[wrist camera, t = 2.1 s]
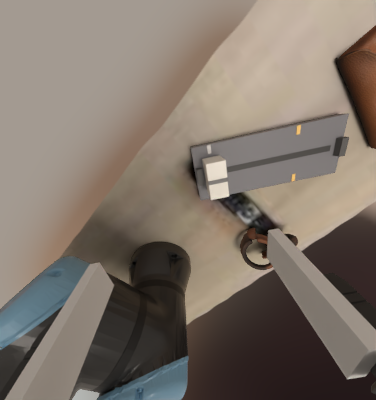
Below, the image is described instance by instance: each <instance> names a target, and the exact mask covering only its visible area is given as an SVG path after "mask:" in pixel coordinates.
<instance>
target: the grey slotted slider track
mask: <svg viewBox="0 0 376 400" xmlns="http://www.w3.org/2000/svg"><path fill="white" fill-rule="evenodd" d="M348 115H349V114H336V115H332V116H327V117H323V118H318V119H314V120H309V121H304V122H300V123H295V124H291V125H286V126H282V127H277V128H273V129H268V130H264V131H259V132H255V133H250V134H246V135H241V136H237V137H232V138H228V139H223V140H219V141H214V142H210V143H205V144H201V145H196V146H192V147H190V149H191V154H192V159H193V165H194V170H195V175H196V181H197V186H198V191H199V196H200V200H205V199H210V196H209V194H208V192H207V187H206V181H205V174H204V168H203V162H202V159H204V158H209V157H213V156H218V155H220V156H221V157H222V158H224V159H225V160H226V168H227V177H228V189H229V194H234V193H239V192H244V191H249V190H253V189H258V188H263V187H268V186H273V185H278V184H282V183H287V182H292V181H297V180H302V179H307V178H311V177H316V176H321V175H326V174H331V173H335V171H336V167H337V162H338V158H339V157H340V156H345V152H346V148H347V144H348V140H349V137H343V136H344V132H345V128H346V124H347V119H348Z"/></svg>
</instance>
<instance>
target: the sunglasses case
mask: <svg viewBox="0 0 376 400" xmlns="http://www.w3.org/2000/svg"><path fill="white" fill-rule="evenodd" d="M336 60H337V65H338V68H339V70H340V72H341V75H342V77H343V79H344V81H345V83H346V85H347V87H348V90H349V92H350V94H351V96H352V98H353V101H354V104H355V107H356V110H357V112H358V114H359V117H360V119H361V123H362V125H363V128H364V131H365V133H366V136H367V140H368V142H369V145H370V147H371V148H375V149H376V26H374V27H373V28H372V29H371V30H370V31H369V32H367V33H366V34H365V35H364V36H363V37H362V38H360V39H359V40H358V41H357V42H356V43H355V44H354V45H352V46H351V47H350V48H349V49H348V50H347V51H345V52H344V53H343V54H342V55H341V56H340V57H339V58H336Z"/></svg>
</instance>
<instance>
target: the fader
mask: <svg viewBox="0 0 376 400" xmlns="http://www.w3.org/2000/svg"><path fill="white" fill-rule="evenodd" d="M202 162H203V168H204V174H205V181H206V187H207V192H208V194H209V196H210V199H211V200H214V199H219V198H224V197H229V189H228V177H227V168H226V160H225V159H224V158H222V157H221V156H220V155H218V156H213V157H209V158H204V159H202Z"/></svg>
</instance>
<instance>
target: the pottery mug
mask: <svg viewBox="0 0 376 400" xmlns="http://www.w3.org/2000/svg"><path fill="white" fill-rule="evenodd" d="M255 230H256V229H255V228H251V229H248V231H247V233H246V234H245V235H244V237H243V239H242V241H241V244H240V248H241V254H242V256H243V258H244V260H245V262H246V263H247V264H248V265H250V266H251V267H253V268H255V269H259V270H266V269H270V268H272V267H273V266H272V265H271V263H269V264H266V265H258V264H255V263H253V262H251V261H250V260H249V259H248V257H247V255H246V249H247V247H248V246H249V245H250V244H252V243H253V242H252V240H254V239H257V241H258V242H260V243H264V244H266V245H267V243H268V237H267V236H264V235H261V234H256V232H255ZM284 235H285V236H286V237H287V238H288V239H289V240H290V241H291V242H292V243H293V244H294V245H295V246H296V245H297V244H298V240H297V238H296V236H293V235H291V234H284ZM262 255H263V256H262V258H267V251H264V252H262Z"/></svg>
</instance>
